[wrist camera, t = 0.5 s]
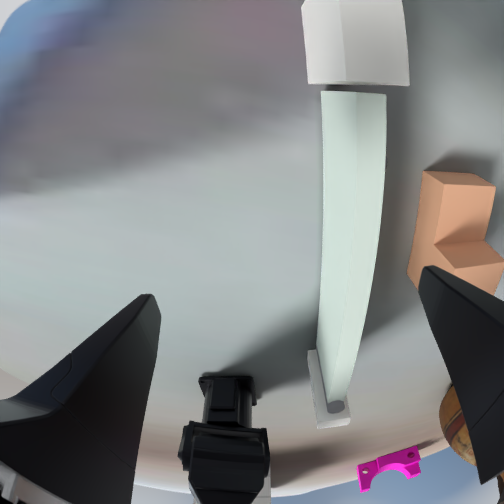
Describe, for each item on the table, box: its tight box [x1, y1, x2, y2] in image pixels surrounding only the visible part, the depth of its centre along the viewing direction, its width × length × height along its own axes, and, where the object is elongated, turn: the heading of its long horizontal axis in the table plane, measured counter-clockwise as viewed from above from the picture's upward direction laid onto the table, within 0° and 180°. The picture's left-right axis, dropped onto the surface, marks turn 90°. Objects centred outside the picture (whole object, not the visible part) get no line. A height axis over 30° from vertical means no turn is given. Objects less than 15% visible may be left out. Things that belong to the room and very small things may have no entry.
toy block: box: [357, 446, 421, 492], centre depth 51 cm, size 15×6×8 cm, turn 103°
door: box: [316, 91, 387, 414], centre depth 20 cm, size 25×3×8 cm, turn 5°
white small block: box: [301, 0, 410, 429], centre depth 19 cm, size 33×3×9 cm, turn 5°
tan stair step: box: [407, 171, 504, 296], centre depth 20 cm, size 10×6×7 cm, turn 5°
